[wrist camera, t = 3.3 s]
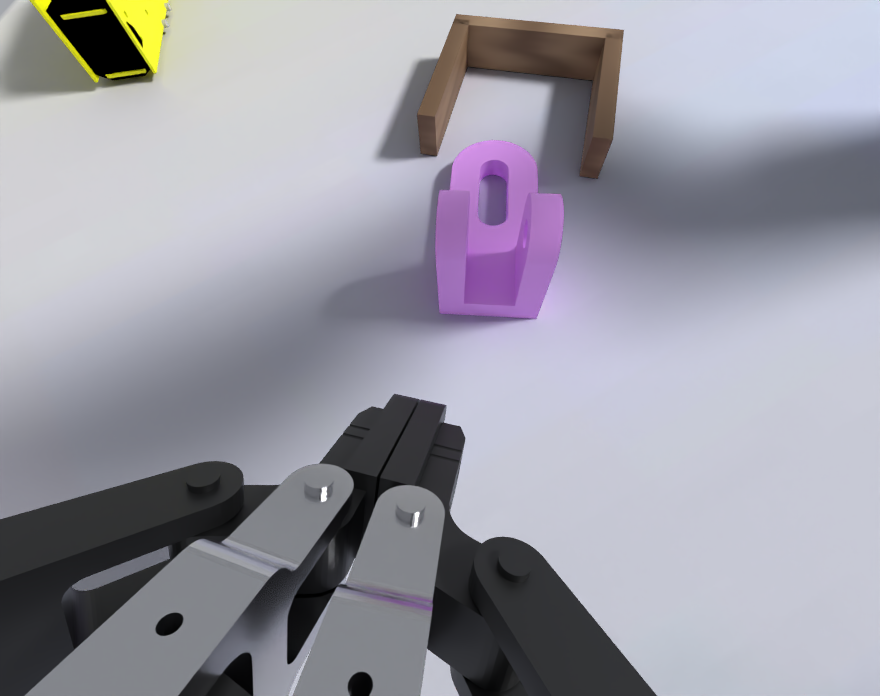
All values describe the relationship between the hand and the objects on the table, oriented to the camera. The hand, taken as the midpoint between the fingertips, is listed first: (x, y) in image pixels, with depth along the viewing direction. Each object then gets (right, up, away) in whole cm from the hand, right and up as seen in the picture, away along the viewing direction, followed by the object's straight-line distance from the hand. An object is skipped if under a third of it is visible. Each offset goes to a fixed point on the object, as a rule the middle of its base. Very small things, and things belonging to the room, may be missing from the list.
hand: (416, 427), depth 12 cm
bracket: (+4, +10, +15) cm, 18 cm away
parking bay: (+7, +20, +19) cm, 29 cm away
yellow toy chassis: (-27, +31, +26) cm, 48 cm away
